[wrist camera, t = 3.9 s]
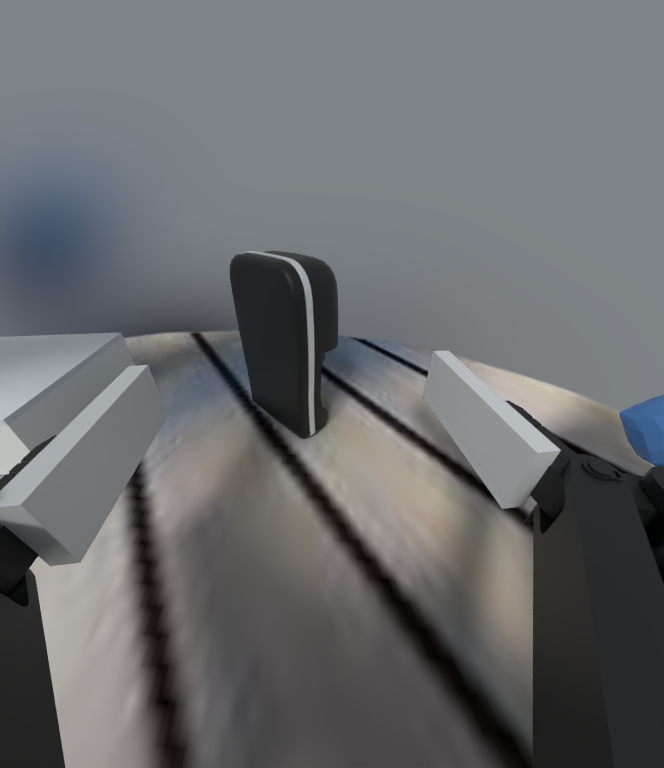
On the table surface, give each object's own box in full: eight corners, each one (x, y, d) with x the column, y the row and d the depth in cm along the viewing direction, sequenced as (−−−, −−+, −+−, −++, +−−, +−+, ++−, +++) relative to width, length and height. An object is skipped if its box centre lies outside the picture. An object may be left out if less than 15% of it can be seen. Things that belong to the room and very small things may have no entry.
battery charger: (342, 420, 20) (350, 256, 14) (304, 445, 18) (294, 263, 12) (287, 384, 25) (274, 244, 18) (250, 401, 22) (221, 249, 16)
